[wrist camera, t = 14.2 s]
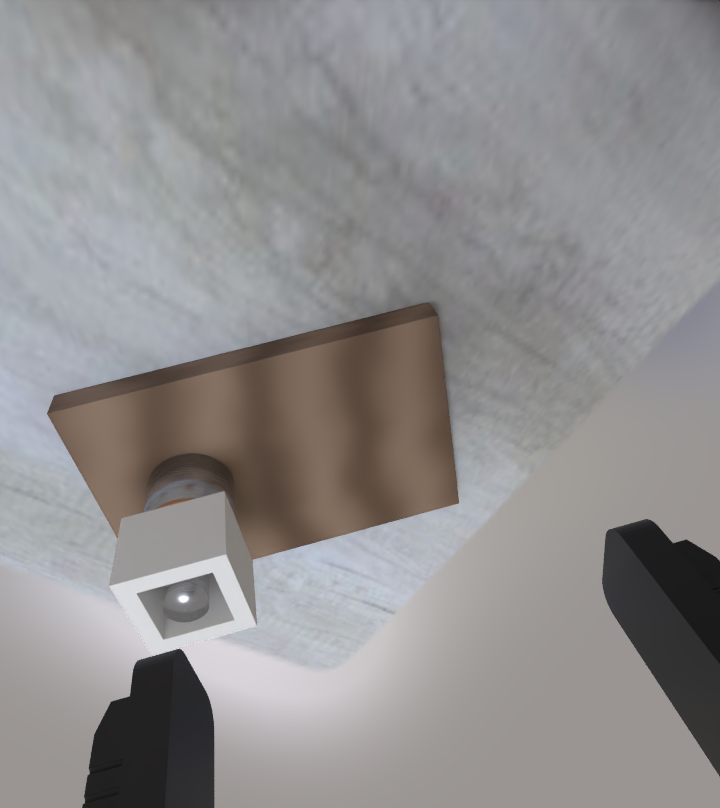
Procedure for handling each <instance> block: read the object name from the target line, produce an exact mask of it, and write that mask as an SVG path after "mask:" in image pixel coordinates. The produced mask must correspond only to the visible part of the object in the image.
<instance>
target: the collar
mask: <svg viewBox="0 0 720 808" xmlns="http://www.w3.org/2000/svg"><path fill="white" fill-rule="evenodd" d="M205 574H209V609H208V611H207V613H206V614H205V615H204V616H203V617H201V618H200V619H198V620H195V621H192V622H176V621H173V620H171V619H169V618H167V617H166V616H165V614H164V613H163V596H164V586H165V585H169V584H173V583H176V582H180V581H183V580H187V579H191V578H194V577H198V576H202V575H205ZM109 587H110V588H111V590H112V592H113V593H114V595H115V596H116V598H117V600H118V601H119V603H120V605H121V606H122V608H123V609H124V611H125V613H126V614H127V616H128V617H129V619H130V621H131V622H132V624H133V626H134V627H135V629H136V630H137V632H138V634H139V635H140V637H141V639H142V640H143V642H144V644H145V645H146V647H147V648H148V650H149V652H150V653H151V655H155V654H159V653H163V652H166V651H170V650H173V649H177V648H181V647H184V646H187V645H191V644H195V643H198V642H202V641H206V640H209V639H213V638H216V637H220V636H223V635H227V634H230V633H234V632H238V631H241V630H245V629H248V628H252V627H255V626H257V618H256V604H255V590H254V576H253V561H252V558H251V556H250V553H249V551H248V548H247V546H246V543H245V541H244V538H243V536H242V533H241V531H240V528H239V526H238V523H237V521H236V518H235V516H234V513H233V511H232V508H231V506H230V503H229V501H228V498H227V496H226V493H225V491H223V492H219V493H215V494H211V495H208V496H204V497H200V498H196V499H192V500H189V501H185V502H181V503H177V504H174V505H170V506H166V507H162V508H158V509H155V510H151V511H147V512H143V513H140V514H136V515H132V516H128V517H124V518H121V523H120V529H119V534H118V540H117V545H116V551H115V556H114V562H113V568H112V573H111V579H110V584H109Z"/></svg>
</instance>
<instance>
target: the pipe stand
mask: <svg viewBox="0 0 720 808" xmlns="http://www.w3.org/2000/svg"><path fill="white" fill-rule="evenodd" d="M47 414H48V416H49V418H50V420H51V422H52V423H53V425H54V427H55V429H56V430H57V432H58V434H59V436H60V437H61V439H62V441H63V443H64V444H65V446H66V448H67V450H68V452H69V453H70V455H71V457H72V459H73V460H74V462H75V464H76V466H77V467H78V469H79V471H80V473H81V474H82V476H83V478H84V480H85V482H86V483H87V485H88V487H89V489H90V490H91V492H92V494H93V496H94V497H95V499H96V501H97V503H98V504H99V506H100V508H101V510H102V512H103V513H104V515H105V517H106V519H107V520H108V522H109V524H110V526H111V527H112V529H113V531H114V533H115V535H116V536H117V538H118V534H119V529H120V523H121V518H124V517H128V516H132V515H136V514H140V513H143V512H147V511H151V510H155V509H158V508H162V507H166V506H170V505H174V504H177V503H181V502H185V501H189V500H192V499H196V498H200V497H204V496H208V495H211V494H215V493H219V492H223V491H225V493H226V496H227V498H228V501H229V503H230V506H231V508H232V511H233V513H234V516H235V518H236V521H237V523H238V526H239V528H240V531H241V533H242V536H243V538H244V541H245V543H246V546H247V548H248V551H249V553H250V556H251V558H252V560H253V559H257V558H260V557H264V556H268V555H271V554H275V553H279V552H282V551H286V550H289V549H293V548H297V547H300V546H304V545H308V544H311V543H315V542H319V541H322V540H326V539H330V538H333V537H337V536H341V535H344V534H348V533H352V532H355V531H359V530H363V529H366V528H370V527H374V526H377V525H381V524H384V523H388V522H392V521H395V520H399V519H403V518H406V517H410V516H414V515H417V514H421V513H425V512H428V511H432V510H436V509H439V508H443V507H447V506H450V505H454V504H458V503H459V498H458V490H457V481H456V472H455V463H454V454H453V445H452V436H451V427H450V418H449V409H448V400H447V392H446V383H445V374H444V365H443V356H442V347H441V338H440V329H439V320H438V315H437V313H436V312H435V311H434V309H433V308H432V307H431V305H430V304H429V303H425V304H421V305H417V306H413V307H409V308H405V309H401V310H397V311H393V312H389V313H385V314H381V315H377V316H373V317H369V318H365V319H361V320H357V321H353V322H349V323H345V324H341V325H337V326H333V327H329V328H324V329H320V330H316V331H312V332H308V333H304V334H300V335H296V336H292V337H288V338H284V339H280V340H276V341H272V342H268V343H264V344H260V345H256V346H252V347H248V348H244V349H240V350H236V351H232V352H228V353H224V354H220V355H216V356H212V357H208V358H204V359H200V360H196V361H192V362H188V363H184V364H180V365H176V366H172V367H168V368H164V369H160V370H156V371H152V372H148V373H144V374H140V375H136V376H132V377H128V378H124V379H120V380H116V381H112V382H108V383H104V384H100V385H96V386H92V387H88V388H84V389H80V390H76V391H72V392H68V393H64V394H60V395H56V396H54V398H53V400H52V403H51V405H50V408H49V410H48V413H47ZM208 609H209V574H205V575H202V576H198V577H194V578H191V579H187V580H183V581H180V582H176V583H173V584H169V585H165V586H164V596H163V613H164V614H165V616H166V617H167V618H169V619H171V620H173V621H176V622H192V621H195V620H198V619H200V618H201V617H203V616H204V615H205V614H206V613H207V611H208Z"/></svg>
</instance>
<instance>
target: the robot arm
mask: <svg viewBox="0 0 720 808" xmlns="http://www.w3.org/2000/svg"><path fill="white" fill-rule="evenodd" d="M602 584H603V590H604V594H605V597H606V600H607V603H608V605H609V607H610V609H611V611H612V613H613V614H614V616H615V618H616V619H617V621H618V622H619V624H620V625H621V627H622V628H623V630H624V631H625V633H626V635H627V636H628V638H629V639H630V641H631V642H632V644H633V645H634V647H635V648H636V650H637V651H638V653H639V654H640V656H641V657H642V659H643V660H644V662H645V663H646V665H647V666H648V668H649V669H650V671H651V673H652V674H653V675H654V677H655V679H656V680H657V682H658V683H659V685H660V686H661V688H662V689H663V691H664V692H665V694H666V695H667V697H668V698H669V700H670V701H671V703H672V704H673V706H674V707H675V709H676V711H677V712H678V713H679V715H680V717H681V718H682V720H683V721H684V723H685V724H686V725H687V727H688V729H689V730H690V732H691V733H692V735H693V736H694V738H695V739H696V741H697V742H698V744H699V745H700V747H701V749H702V750H703V751H704V753H705V755H706V756H707V758H708V759H709V760H710V762H711V764H712V765H713V767H714V768H715V770H716V771H717V773H718V774H719V776H720V561H719V560H718V559H717V558H716V557H715V556H713V555H711V554H710V553H708V552H706V551H705V550H703V549H701V548H700V547H698V546H696V545H695V544H693V543H692V542H690V541H688V540H684V541H680V542H676V543H672V542H671V541H670V540H669V538H668V537H667V536H666V535H665V534H664V533H663V531H662V530H661V529H660V528H659V527H658V526H657V525H656V524H655V523H654V522H653V521H651V520H648V519H645V520H642V521H638V522H635V523H631V524H627V525H624V526H620V527H617V528H613V529H610V530H608V531H607V533H606V539H605V552H604V565H603V578H602ZM89 770H90V774H89V775H88V777H87V783H86V790H85V795H84V797H85V804H83V807H82V808H214V721H213V714H212V708H211V704H210V700H209V698H208V695H207V693H206V691H205V689H204V687H203V685H202V684H201V682H200V680H199V678H198V677H197V675H196V673H195V671H194V670H193V668H192V666H191V664H190V662H189V661H188V659H187V657H186V655H185V654H184V652H183V651H182V650H181V649H177V650H173V651H170V652H166V653H163V654H159V655H156V656H152V657H148V658H145V659H141V660H139V661H137V662H136V664H135V666H134V669H133V676H132V685H131V693H130V697H126V698H123V699H119V700H116V701H112V702H111V703H110V705H109V707H108V709H107V711H106V713H105V715H104V717H103V719H102V721H101V723H100V725H99V726H98V729H97V730H96V733H95V735H94V740H93V746H92V752H91V758H90V764H89Z"/></svg>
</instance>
